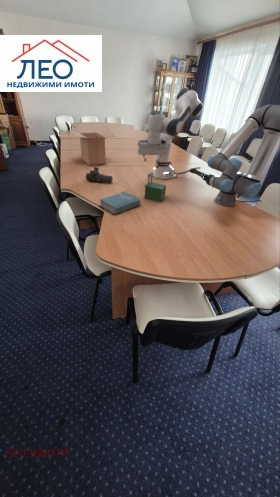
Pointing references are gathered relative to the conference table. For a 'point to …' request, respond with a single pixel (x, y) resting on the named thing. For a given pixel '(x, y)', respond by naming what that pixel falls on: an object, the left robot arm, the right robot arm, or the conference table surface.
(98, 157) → the box
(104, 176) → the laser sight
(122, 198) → the book
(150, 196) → the chest
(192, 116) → the left robot arm
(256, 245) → the conference table surface
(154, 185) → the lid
